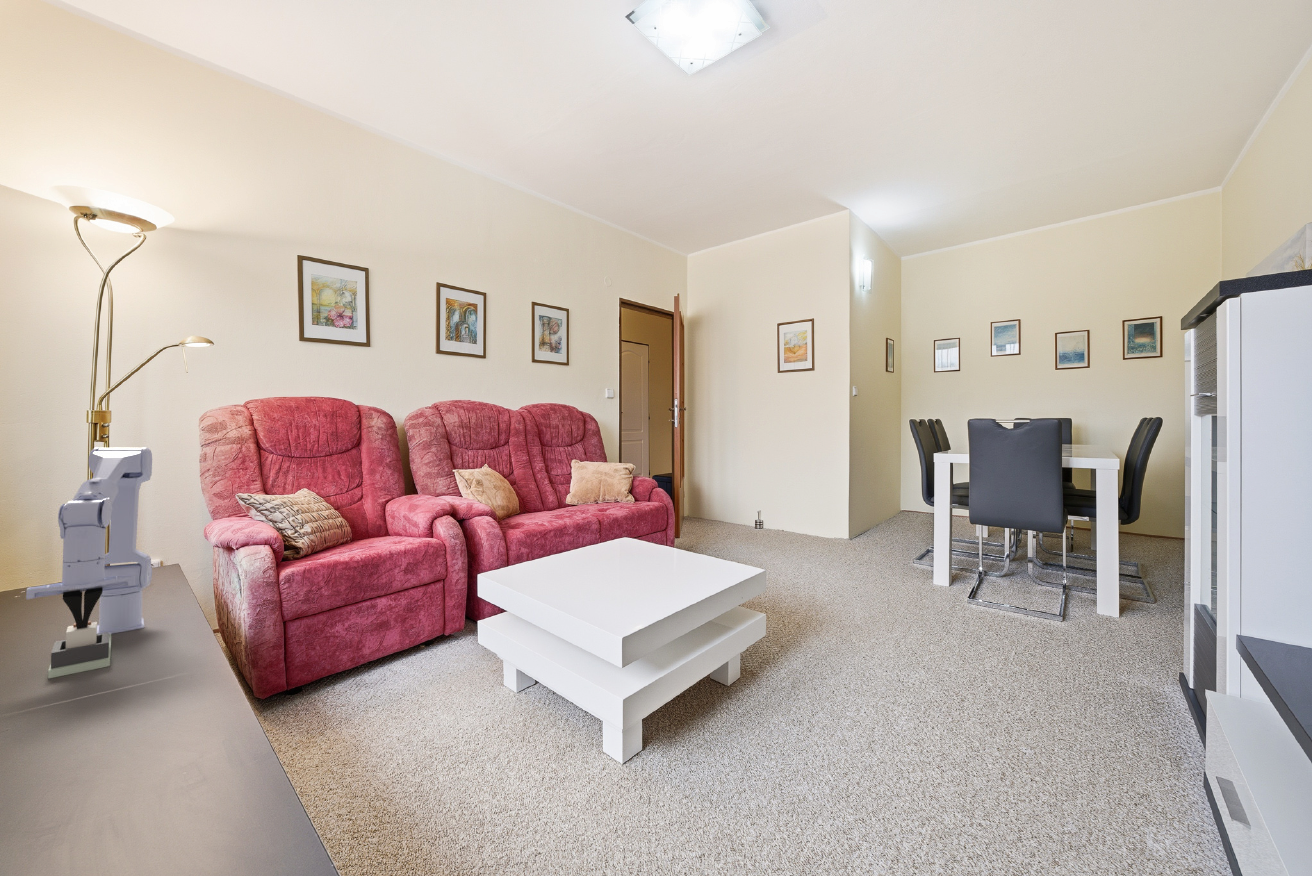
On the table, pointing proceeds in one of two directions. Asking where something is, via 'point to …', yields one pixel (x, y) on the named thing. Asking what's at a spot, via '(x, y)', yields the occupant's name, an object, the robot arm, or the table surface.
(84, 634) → the plug
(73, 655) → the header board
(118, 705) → the table surface
